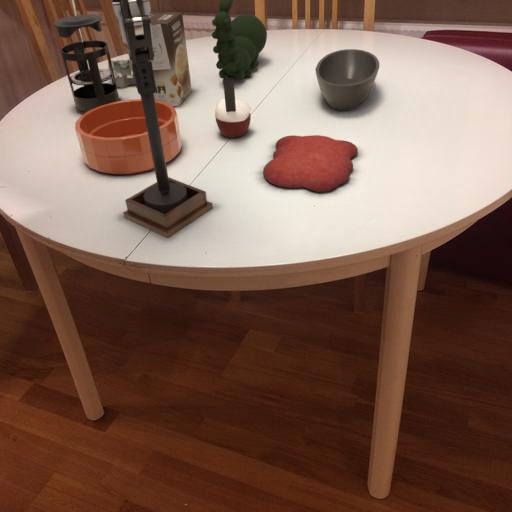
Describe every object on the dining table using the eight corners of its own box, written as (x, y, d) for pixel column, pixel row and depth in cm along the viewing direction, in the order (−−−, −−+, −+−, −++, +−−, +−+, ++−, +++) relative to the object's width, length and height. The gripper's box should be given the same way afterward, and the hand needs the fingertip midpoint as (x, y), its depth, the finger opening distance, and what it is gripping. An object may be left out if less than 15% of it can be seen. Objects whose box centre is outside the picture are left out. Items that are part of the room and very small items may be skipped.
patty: (280, 138, 93) (280, 127, 91) (360, 143, 89) (361, 132, 88) (254, 187, 79) (253, 176, 78) (346, 196, 76) (347, 184, 75)
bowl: (308, 117, 99) (308, 84, 95) (323, 77, 116) (323, 48, 112) (373, 120, 97) (376, 87, 93) (379, 79, 113) (381, 49, 110)
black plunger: (167, 224, 71) (136, 59, 58) (137, 210, 74) (101, 51, 61) (197, 204, 75) (174, 45, 62) (168, 192, 78) (140, 38, 65)
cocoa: (228, 122, 99) (222, 58, 92) (259, 126, 97) (255, 60, 90) (206, 144, 92) (198, 75, 85) (238, 148, 90) (233, 79, 83)
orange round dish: (128, 186, 82) (119, 148, 78) (65, 160, 90) (54, 124, 86) (201, 146, 92) (196, 111, 88) (138, 126, 100) (131, 92, 96)
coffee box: (179, 107, 107) (167, 23, 97) (150, 106, 108) (135, 23, 98) (192, 90, 114) (182, 11, 104) (165, 90, 115) (152, 11, 105)
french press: (128, 108, 108) (102, -16, 94) (83, 119, 104) (49, -8, 90) (111, 92, 116) (85, -24, 102) (68, 102, 112) (35, -17, 98)
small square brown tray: (167, 237, 70) (164, 220, 68) (124, 217, 75) (119, 200, 73) (212, 207, 75) (210, 190, 74) (169, 190, 80) (166, 174, 78)
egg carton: (145, 85, 119) (142, 66, 116) (112, 89, 117) (108, 71, 115) (141, 70, 127) (138, 53, 124) (110, 74, 126) (106, 57, 123)
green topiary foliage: (249, 96, 114) (275, 51, 131) (240, 4, 101) (270, -32, 119) (208, 94, 116) (239, 50, 134) (195, 4, 103) (231, -32, 121)
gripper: (76, -78, 58) (111, 77, 69) (80, -66, 48) (120, 115, 58) (144, -84, 60) (167, 69, 70) (162, -74, 49) (186, 105, 60)
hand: (146, 90), depth 64 cm, fingers closed on black plunger
